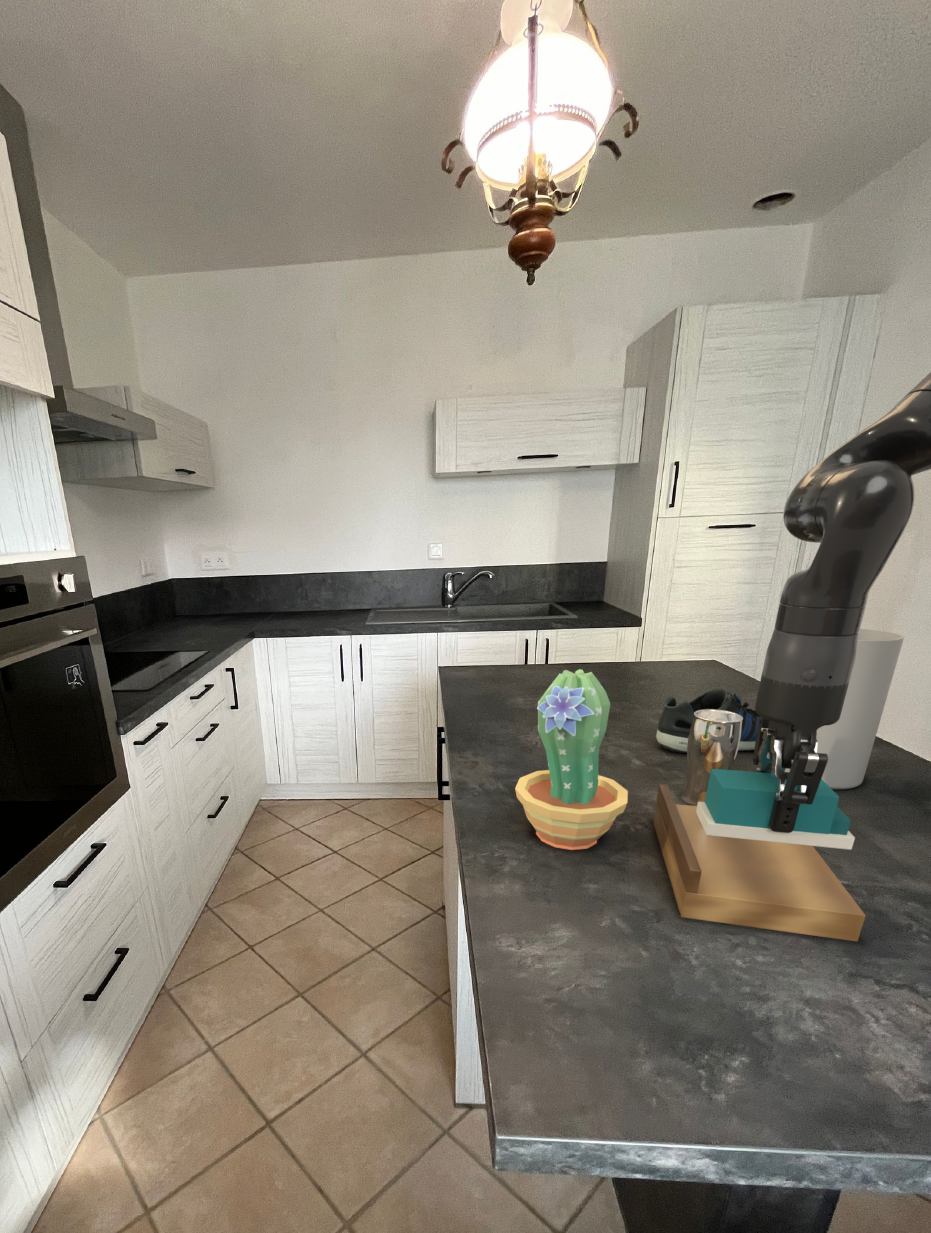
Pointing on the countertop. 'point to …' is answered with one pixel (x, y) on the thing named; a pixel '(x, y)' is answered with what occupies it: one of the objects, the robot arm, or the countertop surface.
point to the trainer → (769, 812)
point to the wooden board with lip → (751, 879)
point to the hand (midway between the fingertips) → (771, 817)
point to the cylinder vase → (859, 710)
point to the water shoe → (680, 717)
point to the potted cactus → (572, 766)
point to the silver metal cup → (710, 749)
